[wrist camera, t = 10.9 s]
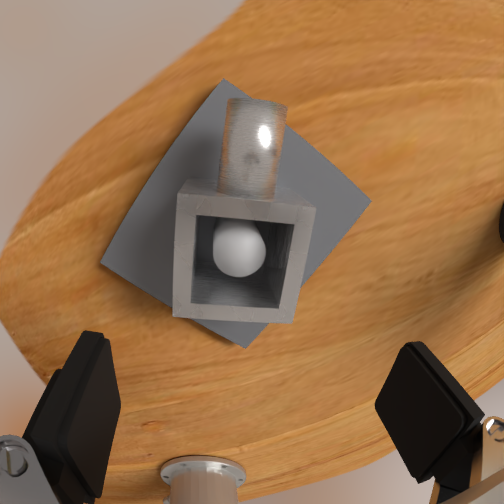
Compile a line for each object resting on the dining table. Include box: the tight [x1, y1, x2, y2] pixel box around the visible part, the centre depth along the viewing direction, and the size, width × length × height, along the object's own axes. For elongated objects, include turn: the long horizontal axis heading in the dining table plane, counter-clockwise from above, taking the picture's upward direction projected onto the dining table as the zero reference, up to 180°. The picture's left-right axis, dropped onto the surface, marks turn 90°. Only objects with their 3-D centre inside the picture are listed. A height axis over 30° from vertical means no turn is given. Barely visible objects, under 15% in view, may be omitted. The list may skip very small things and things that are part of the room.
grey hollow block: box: [173, 98, 316, 323], centre depth 18 cm, size 12×7×6 cm, turn 172°
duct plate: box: [100, 78, 371, 349], centre depth 20 cm, size 16×14×6 cm
